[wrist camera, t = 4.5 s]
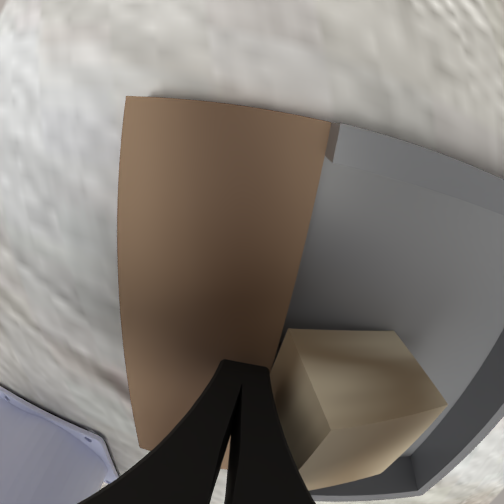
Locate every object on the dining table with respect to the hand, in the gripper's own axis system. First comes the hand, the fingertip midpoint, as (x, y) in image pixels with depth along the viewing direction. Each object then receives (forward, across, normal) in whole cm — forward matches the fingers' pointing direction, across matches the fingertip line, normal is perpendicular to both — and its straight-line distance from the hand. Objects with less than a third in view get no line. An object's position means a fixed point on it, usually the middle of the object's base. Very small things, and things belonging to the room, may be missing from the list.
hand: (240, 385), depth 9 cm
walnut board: (+2, +2, 0) cm, 3 cm away
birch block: (+1, -3, 0) cm, 3 cm away
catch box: (+2, -6, 0) cm, 6 cm away
